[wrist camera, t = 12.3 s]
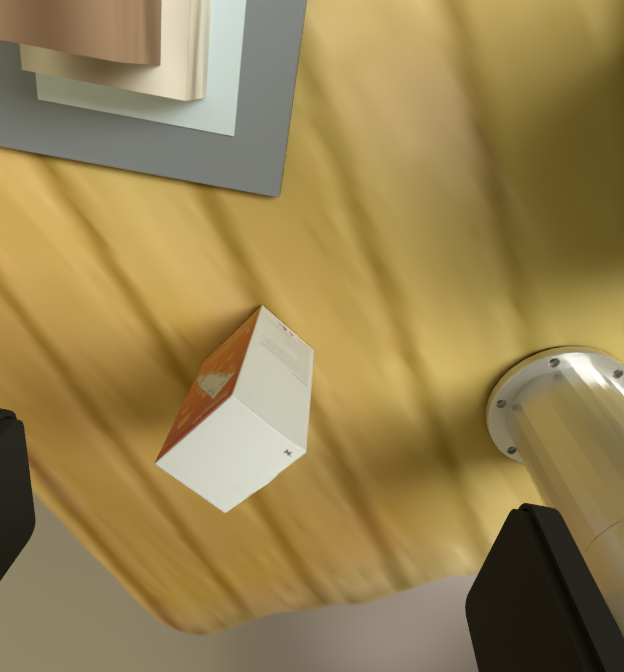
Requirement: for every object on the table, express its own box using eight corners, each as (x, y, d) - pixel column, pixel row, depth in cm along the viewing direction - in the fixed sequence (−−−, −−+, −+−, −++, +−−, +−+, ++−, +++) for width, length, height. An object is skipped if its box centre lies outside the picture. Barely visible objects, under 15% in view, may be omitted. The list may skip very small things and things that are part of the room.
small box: (261, 302, 40) (232, 393, 28) (316, 350, 42) (309, 454, 30) (200, 360, 43) (151, 465, 31) (254, 403, 44) (226, 516, 33)
